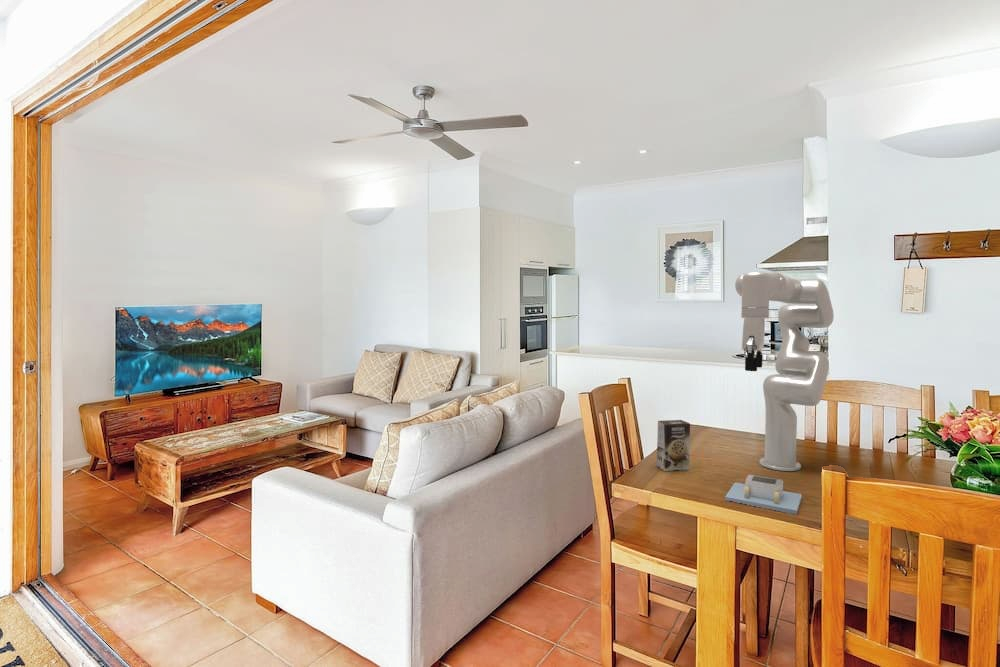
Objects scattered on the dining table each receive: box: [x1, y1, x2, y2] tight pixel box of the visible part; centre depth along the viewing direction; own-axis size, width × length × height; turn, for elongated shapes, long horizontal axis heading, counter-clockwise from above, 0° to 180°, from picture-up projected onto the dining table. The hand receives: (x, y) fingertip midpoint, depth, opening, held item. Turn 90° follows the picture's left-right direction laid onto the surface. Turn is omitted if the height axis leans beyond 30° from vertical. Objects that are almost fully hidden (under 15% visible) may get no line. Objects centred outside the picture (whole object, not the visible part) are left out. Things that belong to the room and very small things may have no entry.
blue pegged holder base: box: [724, 482, 803, 516], centre depth 151 cm, size 14×18×4 cm
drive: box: [744, 474, 784, 502], centre depth 151 cm, size 6×9×5 cm, turn 56°
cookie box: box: [656, 419, 691, 472], centre depth 179 cm, size 9×6×16 cm
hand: (753, 368), depth 160 cm, fingers open, 9 cm apart
